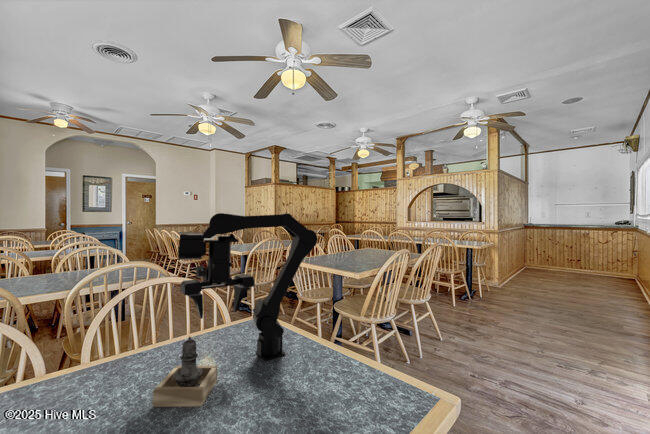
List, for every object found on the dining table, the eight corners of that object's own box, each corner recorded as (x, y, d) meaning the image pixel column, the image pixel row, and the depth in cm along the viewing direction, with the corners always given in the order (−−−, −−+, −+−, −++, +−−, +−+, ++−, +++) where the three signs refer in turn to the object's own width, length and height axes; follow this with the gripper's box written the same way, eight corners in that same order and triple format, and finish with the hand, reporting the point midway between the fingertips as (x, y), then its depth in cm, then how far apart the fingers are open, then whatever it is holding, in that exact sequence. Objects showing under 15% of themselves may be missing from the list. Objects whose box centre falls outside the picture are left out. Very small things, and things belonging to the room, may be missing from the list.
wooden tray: (175, 380, 71) (175, 366, 71) (217, 380, 71) (217, 365, 71) (152, 406, 61) (153, 389, 61) (201, 406, 61) (201, 389, 61)
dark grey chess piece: (200, 395, 64) (201, 340, 64) (170, 398, 62) (172, 342, 63) (204, 380, 70) (205, 330, 70) (177, 384, 68) (178, 332, 68)
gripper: (240, 253, 92) (239, 303, 92) (176, 257, 81) (175, 313, 81) (255, 257, 84) (254, 311, 83) (186, 262, 72) (184, 325, 72)
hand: (218, 315), depth 80 cm, fingers open, 9 cm apart
